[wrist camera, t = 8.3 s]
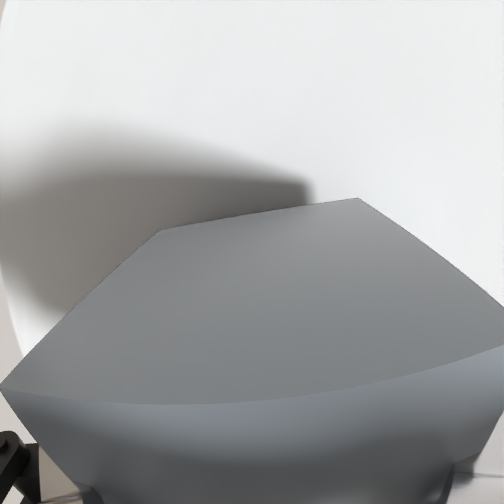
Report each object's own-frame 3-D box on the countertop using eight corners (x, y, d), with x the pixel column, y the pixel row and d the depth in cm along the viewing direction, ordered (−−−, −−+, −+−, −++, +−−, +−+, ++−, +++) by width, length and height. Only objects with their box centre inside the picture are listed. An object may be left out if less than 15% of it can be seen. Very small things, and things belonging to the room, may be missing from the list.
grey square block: (159, 229, 12) (-3, 387, 3) (358, 197, 11) (531, 333, 3) (205, 381, 14) (163, 557, 6) (364, 361, 13) (421, 538, 5)
